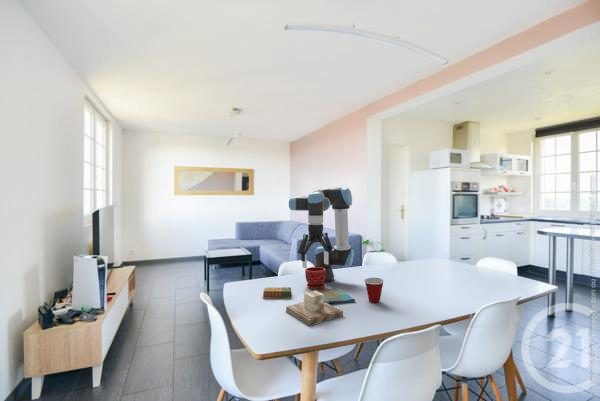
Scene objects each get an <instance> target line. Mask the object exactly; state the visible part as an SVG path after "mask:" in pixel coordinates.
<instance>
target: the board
mask: <svg viewBox="0 0 600 401" xmlns="http://www.w3.org/2000/svg"><path fill="white" fill-rule="evenodd" d="M285 307H286V308H285V312H287V313H289V314H290V315H291V316H293V317H294V318H296V319H297V320H299V321H301V322H302V323H304V324H305V325H307V326H309V327H310V326H313V324H314V325H317V324H321V323H324V322H327V320H328V321H331V320H334V319H338V318H341V317H344V310H343V309H340V308H337V307H336V306H334V305H333V304H332V305H330V304H328V303H326V302H324V309H321V310H317V311H313V312H312V311H310V310H308V309H307V308H305V307H304V301H303V302H299V303H295V304H291V305H287V306H285ZM320 322H321V323H320ZM316 323H317V324H316Z"/></svg>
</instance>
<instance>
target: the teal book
mask: <svg viewBox="0 0 600 401" xmlns="http://www.w3.org/2000/svg"><path fill="white" fill-rule="evenodd" d="M313 291H318V292H320V293H322V294H324V302H326V303H328V304H330V305H332V306H333V305H342V304H355V303H356V299H355V298H353V297H351V296H350V295H349V294H347V293H346V292H345V291H344V290H342V289H340V288H339V287H335V288H322V289H313Z"/></svg>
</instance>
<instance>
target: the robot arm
mask: <svg viewBox="0 0 600 401" xmlns="http://www.w3.org/2000/svg"><path fill="white" fill-rule="evenodd" d="M352 205H353V196H352V191H351V190H350V188H348V187H324V188H321V189H316V190H313V191H312V193H309V194H305V195H302V196H301V195H300V196H292V197H290V198H289V200H288V208H289V210H290V211H295V212H296V211H299V212H300V211H307V212H308V214H307V216H308V217H307V219H308V222H307V223H308V224H307V225H308V227H307V229H308V234H306V233H303V235H302V240H301V242H300V244H299V245H300V246H299V247H298V250H297V254H300V256H301V257H300V259H301V262H302V263H301V264H302V265H301V266H302V268H303V269H306V268H308V262H307V261H308V256H307V252H308V251H309V249H310V248H311V246H312V245H313V244H315V243H319V244H320V245H321V246H317V247H316V248H315V253H314V255H315V257H314V258H315V260H314V267H322V268H325V269H326V277H325V281H324V283H331V282H333V281H335V274H334V271H333V266H337V267H344V268H345V267H351V266H352V264H353V262H354V261H353V260H354V257H355V250H354V249H352V246H351V245H350V244H349V243H350V241H349V240H350V239H349V216H348V213H349V212H348V211H349V209H350V206H352ZM330 207H331V209H332V210H334V229H335V245H334V246H332V244H331V241H330V238H329V236H328V235H329V233H328V232H325V231H324V212H325V211H327V210H329V209H330Z"/></svg>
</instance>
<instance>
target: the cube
mask: <svg viewBox="0 0 600 401" xmlns="http://www.w3.org/2000/svg"><path fill="white" fill-rule="evenodd" d="M303 297H304V298H303V302H304V307H305V308H307V309H308V310H310V311H312V312H313V311H317V310H321V309H324V294H322V293H320V292H318V291H314V290H311V291H308V292H304V294H303Z"/></svg>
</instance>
